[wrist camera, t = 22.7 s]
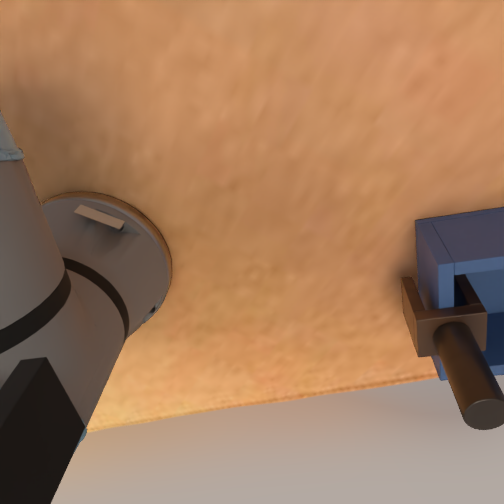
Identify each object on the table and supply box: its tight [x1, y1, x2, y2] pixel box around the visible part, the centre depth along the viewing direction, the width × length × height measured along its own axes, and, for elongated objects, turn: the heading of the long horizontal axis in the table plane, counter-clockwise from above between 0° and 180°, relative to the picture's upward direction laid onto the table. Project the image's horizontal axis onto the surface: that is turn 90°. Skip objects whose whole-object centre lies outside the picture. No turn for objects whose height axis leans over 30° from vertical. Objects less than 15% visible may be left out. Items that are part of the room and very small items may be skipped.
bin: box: [415, 207, 504, 381], centre depth 42 cm, size 12×12×8 cm
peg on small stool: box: [401, 274, 504, 430], centre depth 37 cm, size 5×4×14 cm
